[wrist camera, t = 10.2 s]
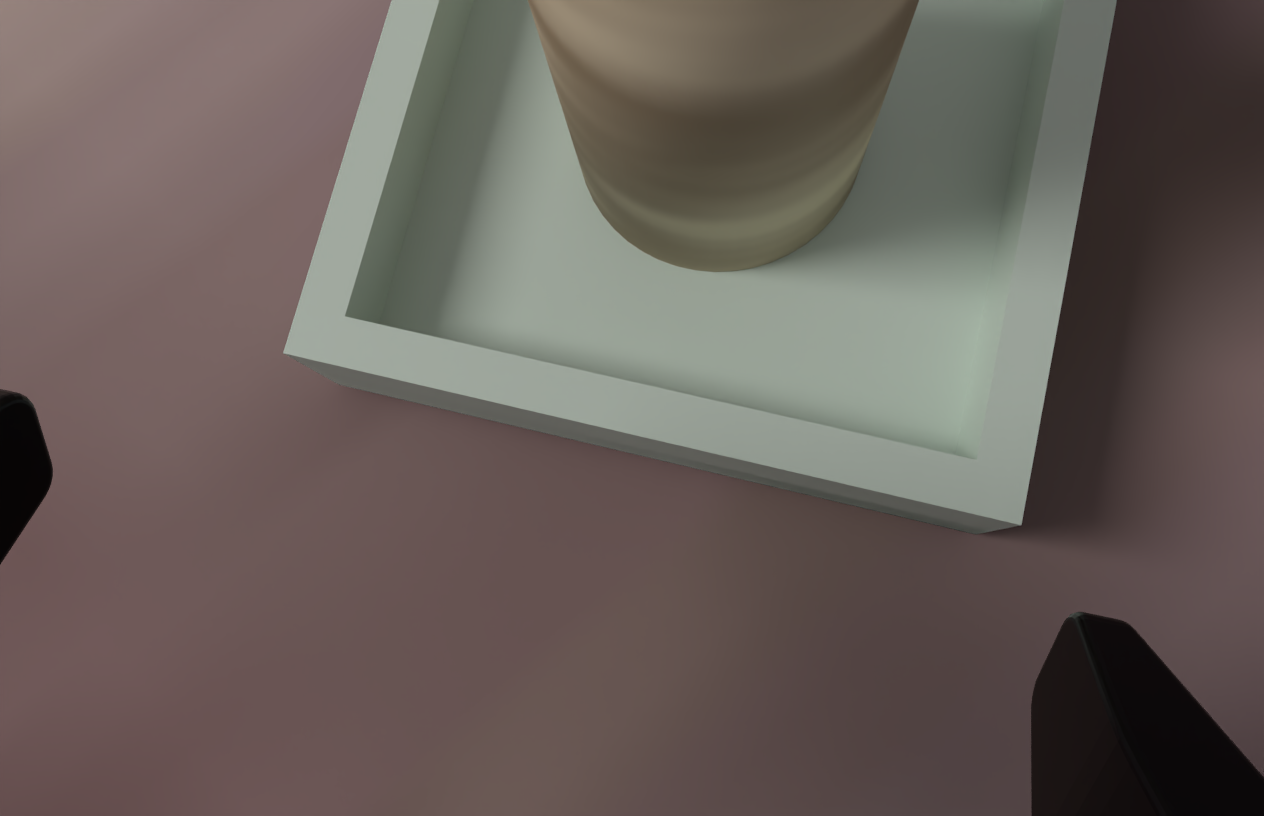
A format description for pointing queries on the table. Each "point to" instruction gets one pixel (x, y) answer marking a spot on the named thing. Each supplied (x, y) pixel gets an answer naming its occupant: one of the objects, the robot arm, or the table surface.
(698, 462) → the tray
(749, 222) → the dowel
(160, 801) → the table surface
